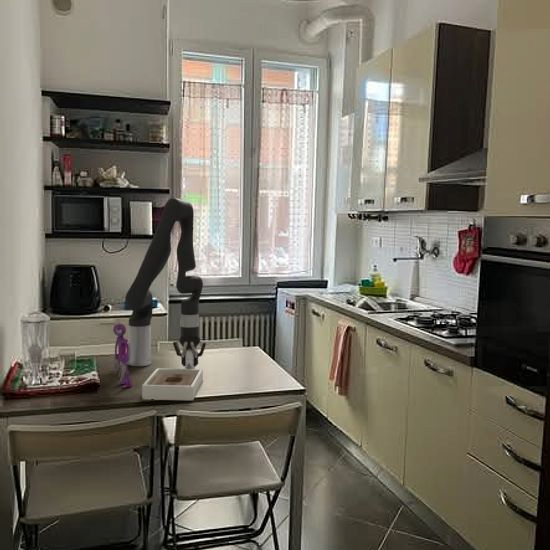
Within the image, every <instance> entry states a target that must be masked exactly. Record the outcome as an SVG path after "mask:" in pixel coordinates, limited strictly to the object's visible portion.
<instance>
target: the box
mask: <svg viewBox="0 0 550 550" xmlns="http://www.w3.org/2000/svg"><path fill="white" fill-rule="evenodd" d="M159 374H186V375H196V378H195V379H194V381H193V383H192V384H191V386H180V385H151V384H152V383H153V381H154V380H155V379H156V378H157V377H158V375H159ZM203 382H204V369H201V368H200V369H199V368H197V369H196V368H195V369H185V368H160V367H159V368H156V369H155V370H154V371H153V372H152V373H151V374H150V376H149V377H148V378H147V379H146V380H145V381H144V383H143V384H142V386H141V388H142V389H141V390H142V391H141V392H142V393H141V394H142V395H141V398H142V400H151V399H154V400H153V401H155V400H157V401H158V400H159V401H161V400H162V401H194V399H195V397H196V395H197V394H198V391H199V390H200V388H201V386H202V384H203Z"/></svg>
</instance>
